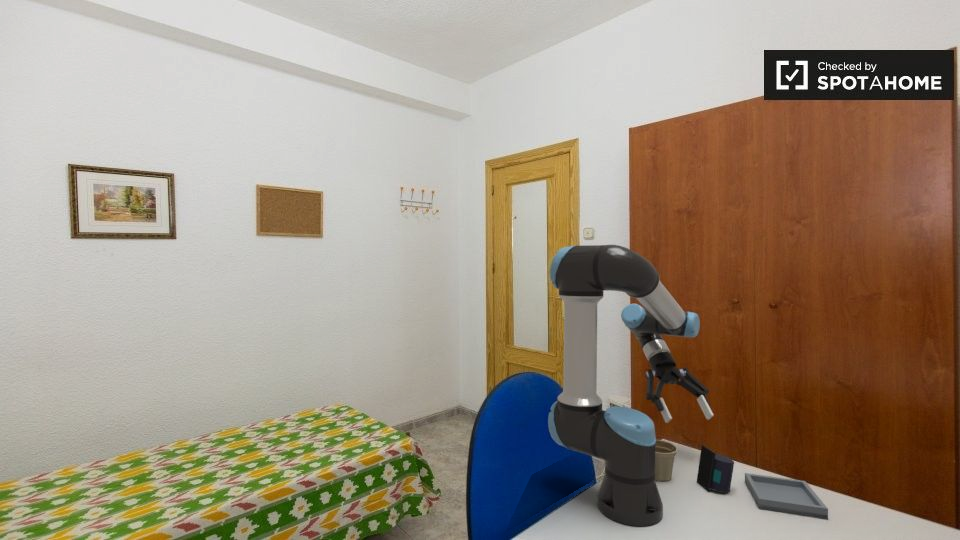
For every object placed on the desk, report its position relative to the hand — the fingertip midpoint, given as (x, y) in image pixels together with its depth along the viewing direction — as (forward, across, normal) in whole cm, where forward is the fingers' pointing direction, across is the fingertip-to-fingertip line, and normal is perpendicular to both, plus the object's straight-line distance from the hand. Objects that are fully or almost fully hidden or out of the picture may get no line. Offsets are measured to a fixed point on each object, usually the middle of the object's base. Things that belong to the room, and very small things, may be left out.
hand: (689, 419), depth 128 cm
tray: (+24, -12, +3) cm, 27 cm away
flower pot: (+12, +11, -9) cm, 19 cm away
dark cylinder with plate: (+18, 0, -3) cm, 18 cm away
